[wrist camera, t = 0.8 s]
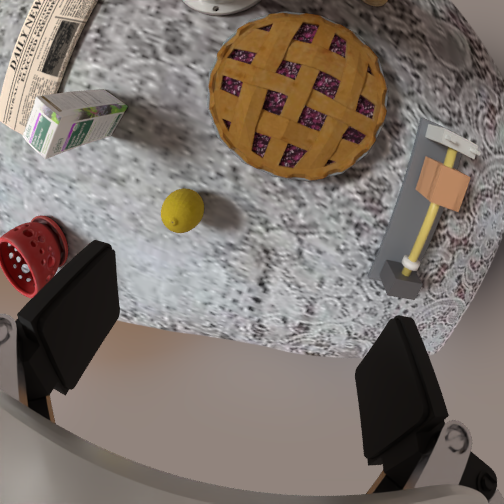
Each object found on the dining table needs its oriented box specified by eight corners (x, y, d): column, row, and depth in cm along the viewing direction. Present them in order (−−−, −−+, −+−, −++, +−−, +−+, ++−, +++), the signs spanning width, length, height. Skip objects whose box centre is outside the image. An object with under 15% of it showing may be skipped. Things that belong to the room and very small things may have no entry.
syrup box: (111, 137, 37) (46, 162, 24) (86, 118, 35) (19, 137, 23) (129, 105, 34) (62, 118, 22) (103, 87, 32) (34, 95, 20)
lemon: (216, 193, 40) (201, 215, 33) (200, 223, 42) (183, 250, 35) (182, 175, 39) (160, 193, 32) (168, 206, 41) (146, 229, 35)
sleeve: (425, 155, 31) (442, 164, 27) (452, 167, 31) (470, 177, 27) (415, 189, 34) (430, 201, 30) (441, 198, 34) (458, 212, 30)
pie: (197, 151, 37) (185, 158, 33) (235, 4, 26) (228, -8, 22) (350, 194, 38) (358, 207, 33) (397, 52, 26) (412, 47, 22)
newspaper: (47, 140, 38) (37, 144, 35) (-2, 112, 34) (-11, 114, 32) (136, -50, 20) (127, -56, 17) (65, -50, 17) (57, -53, 14)
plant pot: (42, 196, 43) (-1, 223, 33) (82, 244, 47) (45, 280, 37) (25, 234, 48) (-9, 262, 38) (61, 275, 52) (30, 309, 42)
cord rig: (420, 117, 30) (445, 123, 24) (463, 137, 30) (489, 147, 24) (367, 275, 43) (377, 303, 38) (407, 283, 43) (420, 310, 37)
